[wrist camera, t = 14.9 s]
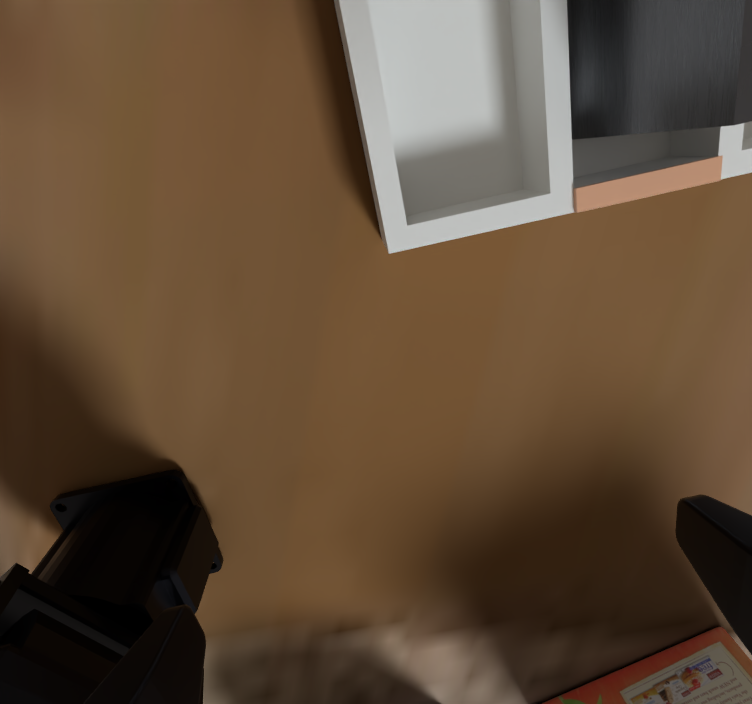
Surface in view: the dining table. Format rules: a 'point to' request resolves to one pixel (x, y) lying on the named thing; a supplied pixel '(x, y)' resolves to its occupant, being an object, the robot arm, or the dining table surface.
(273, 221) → the dining table surface
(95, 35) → the dining table surface
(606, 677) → the cracker box
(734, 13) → the panel
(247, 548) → the dining table surface
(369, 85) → the slot rack
